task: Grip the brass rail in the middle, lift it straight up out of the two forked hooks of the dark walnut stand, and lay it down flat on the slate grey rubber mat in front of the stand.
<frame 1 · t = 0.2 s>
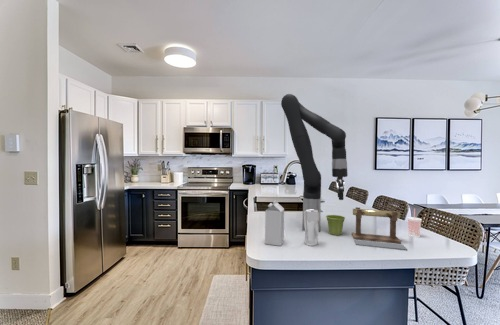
hand: (340, 198, 124), 18 cm above the table, tool pointing down, fingers open, 8 cm apart
milk carton: (274, 243, 107), on the table
hook stand: (375, 239, 114), on the table
slate mat: (379, 245, 106), on the table
beverage cup: (414, 236, 120), on the table
brass rail: (375, 213, 114), point 12 cm above the table, touching hook stand
plant pot: (335, 234, 122), on the table
beer glass: (311, 244, 107), on the table
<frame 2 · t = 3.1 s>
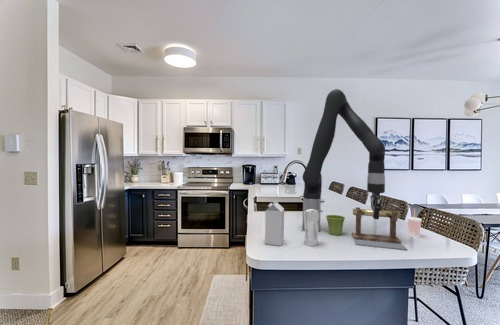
hand: (375, 218, 114), 10 cm above the table, tool pointing down, fingers closed on brass rail, 3 cm apart
brass rail: (375, 213, 114), point 12 cm above the table, touching gripper, hook stand
everything else where it was.
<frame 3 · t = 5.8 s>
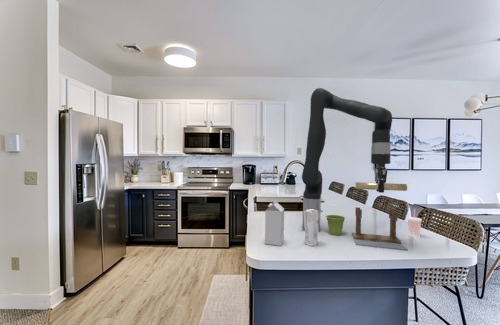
hand: (380, 191, 106), 24 cm above the table, tool pointing down, fingers closed on brass rail, 3 cm apart
brass rail: (380, 186, 106), point 26 cm above the table, touching gripper
everything else where it was.
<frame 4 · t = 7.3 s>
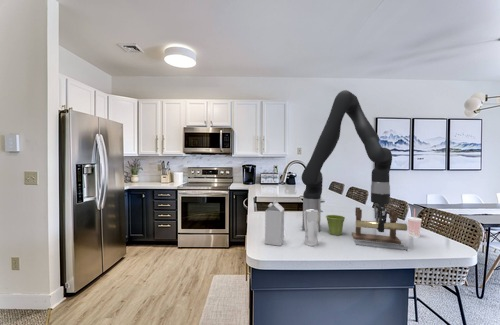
hand: (380, 230, 106), 7 cm above the table, tool pointing down, fingers closed on brass rail, 3 cm apart
brass rail: (380, 225, 106), point 9 cm above the table, touching gripper
everything else where it was.
when the fingers open (1 cm above the table, at t = 8.7 s): brass rail drops 1 cm, resting on slate mat.
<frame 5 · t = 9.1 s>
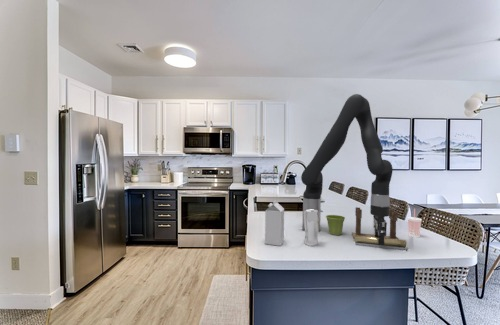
hand: (379, 241, 106), 2 cm above the table, tool pointing down, fingers open, 6 cm apart
brass rail: (379, 240, 106), point 2 cm above the table, touching slate mat
everything else where it was.
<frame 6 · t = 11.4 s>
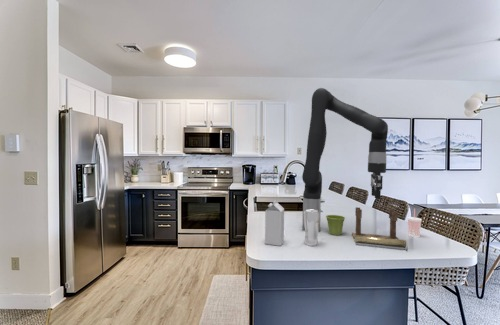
hand: (375, 197, 110), 21 cm above the table, tool pointing down, fingers open, 8 cm apart
nothing on the table moved.
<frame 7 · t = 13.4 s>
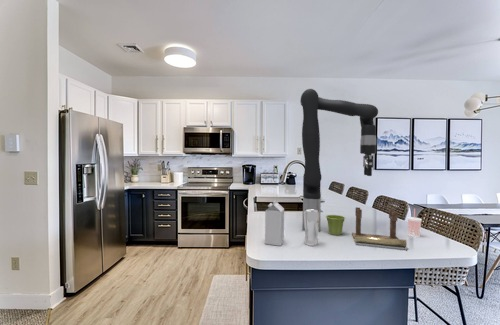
hand: (367, 175, 124), 30 cm above the table, tool pointing down, fingers open, 8 cm apart
nothing on the table moved.
at the end: brass rail inside the target area (0.1 cm from its centre), point 2.0 cm above the table; brass rail touching slate mat; the gripper is holding nothing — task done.
